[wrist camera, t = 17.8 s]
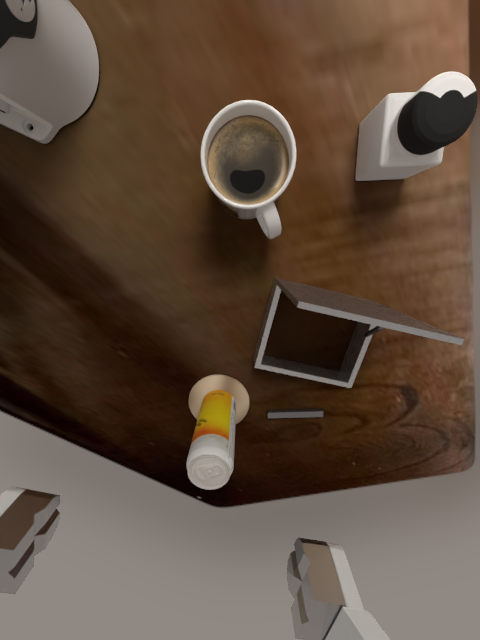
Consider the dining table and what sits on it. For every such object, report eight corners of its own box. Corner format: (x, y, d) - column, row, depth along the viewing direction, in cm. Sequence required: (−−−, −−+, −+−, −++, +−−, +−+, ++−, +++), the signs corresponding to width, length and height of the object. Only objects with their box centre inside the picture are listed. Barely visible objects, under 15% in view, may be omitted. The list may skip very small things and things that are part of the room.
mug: (293, 152, 35) (315, 112, 25) (273, 241, 39) (285, 239, 28) (218, 136, 35) (208, 88, 24) (205, 227, 38) (190, 220, 28)
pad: (184, 420, 48) (183, 421, 47) (194, 368, 45) (194, 369, 44) (241, 431, 48) (241, 433, 48) (255, 381, 45) (255, 382, 45)
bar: (267, 414, 48) (267, 418, 46) (267, 408, 47) (267, 412, 46) (320, 412, 47) (322, 416, 46) (321, 407, 47) (323, 411, 46)
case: (253, 357, 44) (260, 428, 27) (274, 277, 40) (299, 301, 23) (341, 376, 45) (404, 457, 27) (370, 299, 41) (464, 339, 24)
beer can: (197, 393, 46) (176, 461, 31) (229, 383, 45) (223, 447, 31) (209, 420, 47) (195, 497, 33) (240, 411, 47) (240, 485, 32)
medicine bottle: (404, 179, 36) (480, 148, 25) (354, 181, 36) (406, 151, 25) (412, 120, 34) (499, 56, 23) (358, 122, 34) (417, 60, 23)
